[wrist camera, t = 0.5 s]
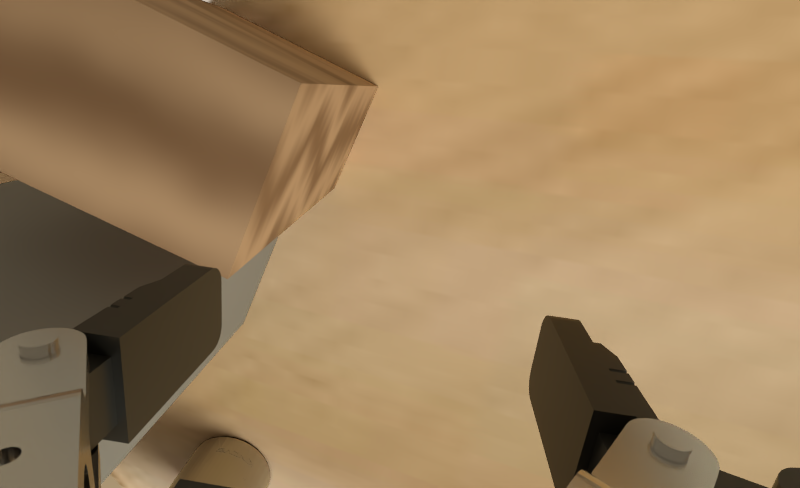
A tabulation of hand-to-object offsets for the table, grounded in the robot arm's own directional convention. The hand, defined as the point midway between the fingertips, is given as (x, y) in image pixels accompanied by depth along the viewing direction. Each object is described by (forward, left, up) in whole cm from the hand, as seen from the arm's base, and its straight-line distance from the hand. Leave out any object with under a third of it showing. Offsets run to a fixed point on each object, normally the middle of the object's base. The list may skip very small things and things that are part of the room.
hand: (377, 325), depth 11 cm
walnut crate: (-1, +13, -30) cm, 33 cm away
